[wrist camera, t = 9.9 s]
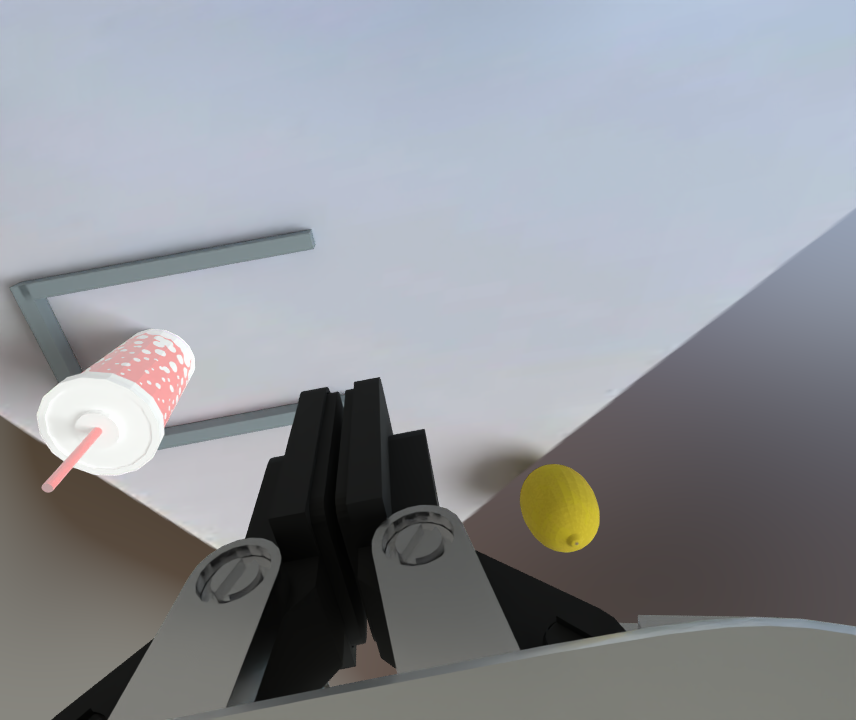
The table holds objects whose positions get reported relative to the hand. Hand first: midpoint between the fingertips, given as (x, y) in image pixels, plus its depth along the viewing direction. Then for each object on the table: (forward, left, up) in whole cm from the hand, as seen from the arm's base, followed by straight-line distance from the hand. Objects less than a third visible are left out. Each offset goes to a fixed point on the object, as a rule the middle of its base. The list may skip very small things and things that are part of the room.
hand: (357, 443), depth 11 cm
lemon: (-10, +22, -25) cm, 35 cm away
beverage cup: (+16, +6, -25) cm, 30 cm away
